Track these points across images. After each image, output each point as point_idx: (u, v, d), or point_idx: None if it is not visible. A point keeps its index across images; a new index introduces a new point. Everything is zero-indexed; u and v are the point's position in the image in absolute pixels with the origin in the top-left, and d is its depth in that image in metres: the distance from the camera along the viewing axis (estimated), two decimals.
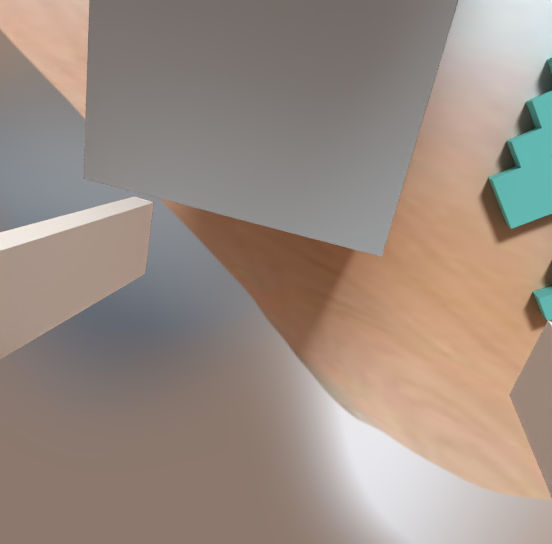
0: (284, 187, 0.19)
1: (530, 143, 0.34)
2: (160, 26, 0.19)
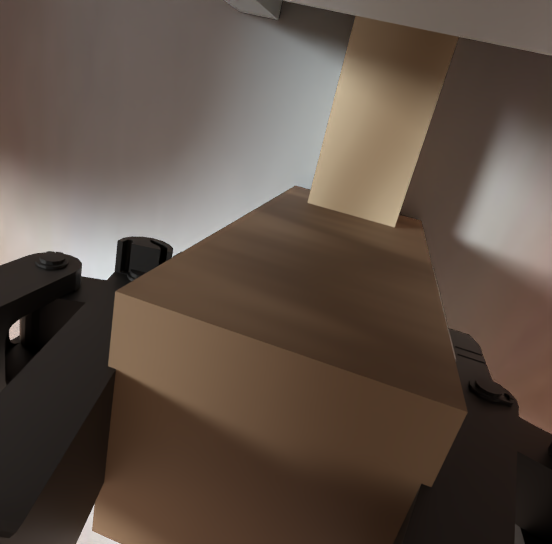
0: None
1: None
2: None
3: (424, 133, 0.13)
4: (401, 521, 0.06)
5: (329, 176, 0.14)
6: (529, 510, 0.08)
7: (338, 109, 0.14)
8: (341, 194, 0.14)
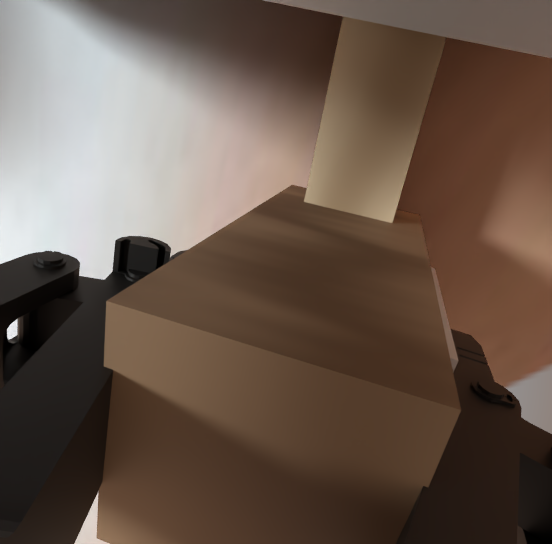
0: None
1: None
2: None
3: (418, 127, 0.13)
4: (400, 521, 0.06)
5: (325, 174, 0.14)
6: (532, 512, 0.08)
7: (330, 106, 0.14)
8: (337, 192, 0.14)
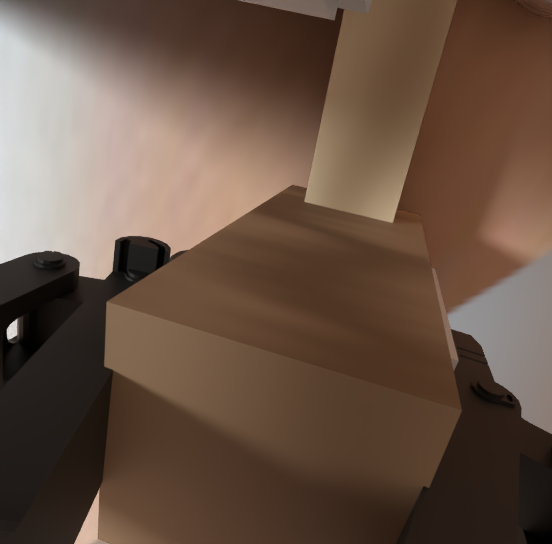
0: None
1: None
2: None
3: (418, 127, 0.13)
4: (401, 521, 0.06)
5: (325, 174, 0.14)
6: (532, 512, 0.08)
7: (330, 106, 0.14)
8: (337, 192, 0.14)
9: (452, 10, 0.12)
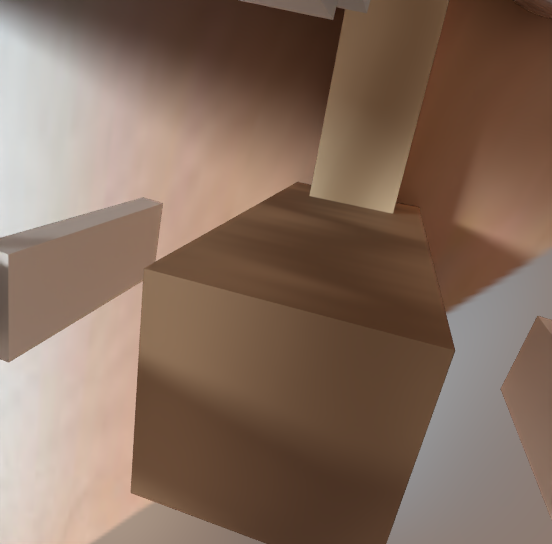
0: None
1: None
2: None
3: (415, 123, 0.14)
4: (405, 456, 0.07)
5: (328, 169, 0.15)
6: None
7: (333, 106, 0.15)
8: (340, 186, 0.15)
9: (443, 15, 0.13)
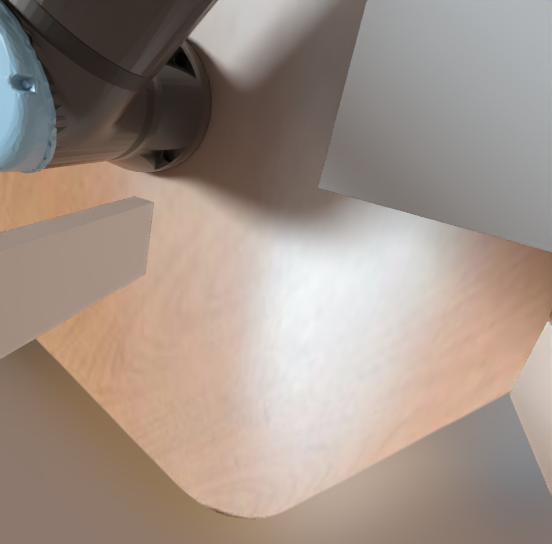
0: None
1: None
2: None
3: None
4: None
5: None
6: None
7: None
8: None
9: None
